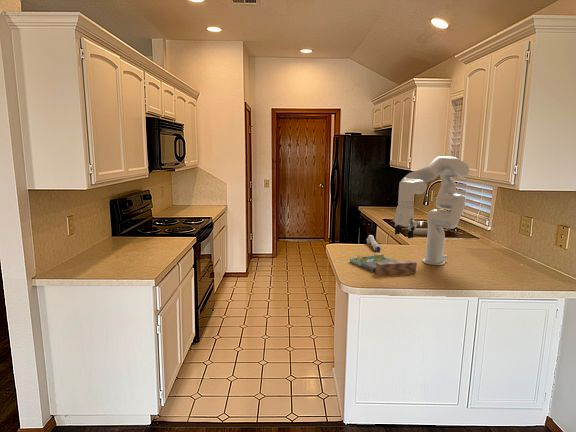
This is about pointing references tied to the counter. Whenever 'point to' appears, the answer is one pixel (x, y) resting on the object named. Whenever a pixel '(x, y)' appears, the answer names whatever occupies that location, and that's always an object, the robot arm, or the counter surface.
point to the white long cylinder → (373, 243)
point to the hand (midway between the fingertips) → (403, 236)
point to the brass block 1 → (362, 258)
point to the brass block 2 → (378, 256)
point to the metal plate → (374, 264)
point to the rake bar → (396, 267)
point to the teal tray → (369, 259)
